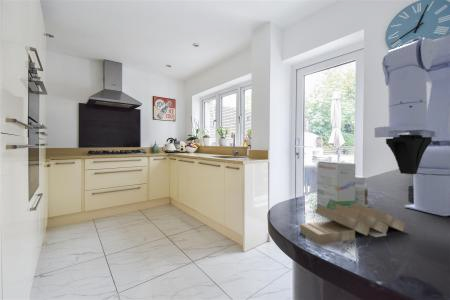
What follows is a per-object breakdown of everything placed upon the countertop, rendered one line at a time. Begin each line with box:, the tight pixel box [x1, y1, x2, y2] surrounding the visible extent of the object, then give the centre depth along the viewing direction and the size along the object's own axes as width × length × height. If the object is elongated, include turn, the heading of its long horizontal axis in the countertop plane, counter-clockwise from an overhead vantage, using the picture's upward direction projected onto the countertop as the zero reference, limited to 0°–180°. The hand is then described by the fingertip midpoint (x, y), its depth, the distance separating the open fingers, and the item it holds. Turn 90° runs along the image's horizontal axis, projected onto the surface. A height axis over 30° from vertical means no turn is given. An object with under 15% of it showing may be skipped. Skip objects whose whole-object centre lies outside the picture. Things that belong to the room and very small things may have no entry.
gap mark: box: [368, 228, 387, 238], centre depth 38 cm, size 3×6×1 cm, turn 15°
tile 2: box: [335, 204, 389, 235], centre depth 38 cm, size 2×5×7 cm
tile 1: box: [351, 203, 406, 232], centre depth 39 cm, size 2×5×7 cm
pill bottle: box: [355, 175, 369, 207], centre depth 55 cm, size 4×4×8 cm
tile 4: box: [299, 220, 356, 245], centre depth 36 cm, size 2×5×7 cm
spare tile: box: [315, 204, 370, 236], centre depth 37 cm, size 2×5×7 cm
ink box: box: [316, 161, 356, 210], centre depth 54 cm, size 9×5×12 cm, turn 9°
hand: (408, 173), depth 41 cm, fingers closed
